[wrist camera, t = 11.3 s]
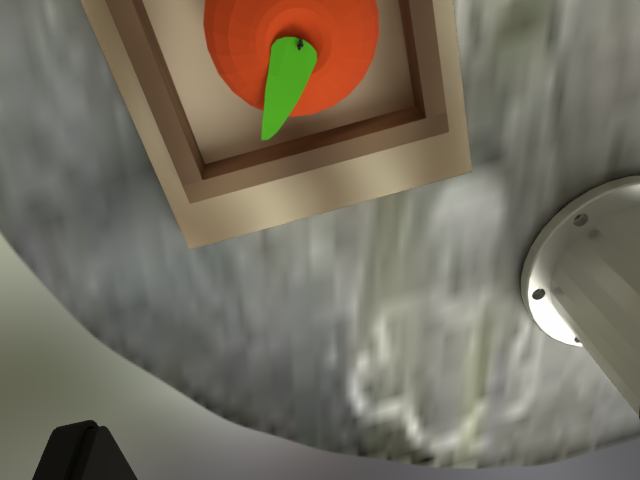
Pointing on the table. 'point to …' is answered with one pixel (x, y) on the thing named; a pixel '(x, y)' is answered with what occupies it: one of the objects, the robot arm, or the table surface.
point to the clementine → (291, 52)
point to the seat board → (297, 132)
